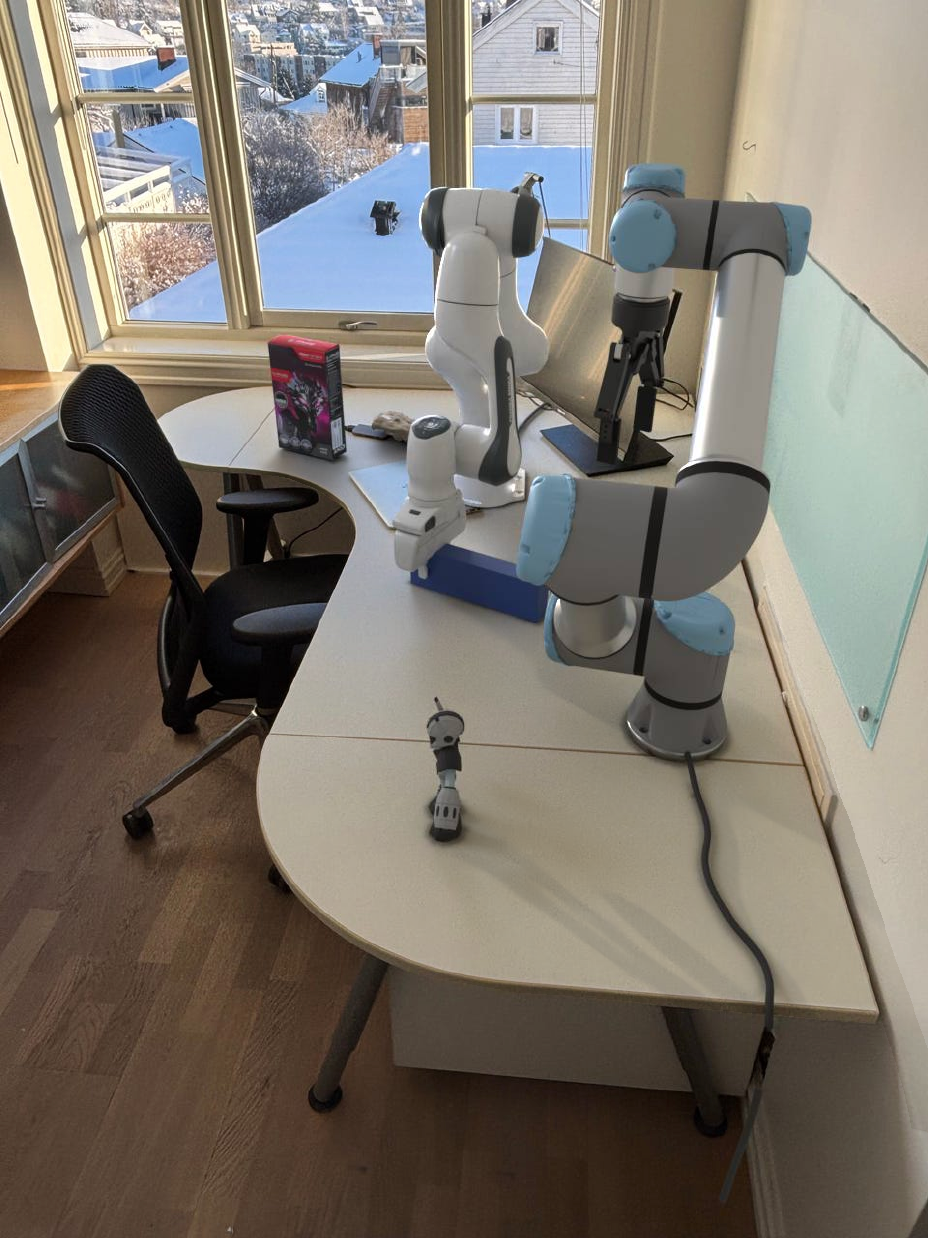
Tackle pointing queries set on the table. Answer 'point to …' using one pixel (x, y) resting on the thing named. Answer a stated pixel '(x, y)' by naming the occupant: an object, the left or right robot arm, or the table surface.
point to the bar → (483, 582)
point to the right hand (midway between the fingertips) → (625, 445)
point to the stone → (394, 424)
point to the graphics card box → (308, 395)
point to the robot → (446, 772)
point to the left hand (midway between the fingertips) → (432, 569)
